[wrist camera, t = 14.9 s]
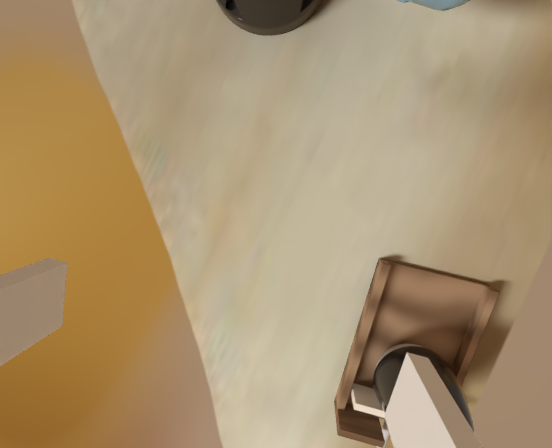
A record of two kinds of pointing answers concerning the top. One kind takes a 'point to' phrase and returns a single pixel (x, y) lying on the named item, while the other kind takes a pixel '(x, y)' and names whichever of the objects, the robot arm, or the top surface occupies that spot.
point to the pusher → (368, 405)
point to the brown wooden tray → (410, 332)
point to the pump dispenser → (391, 367)
